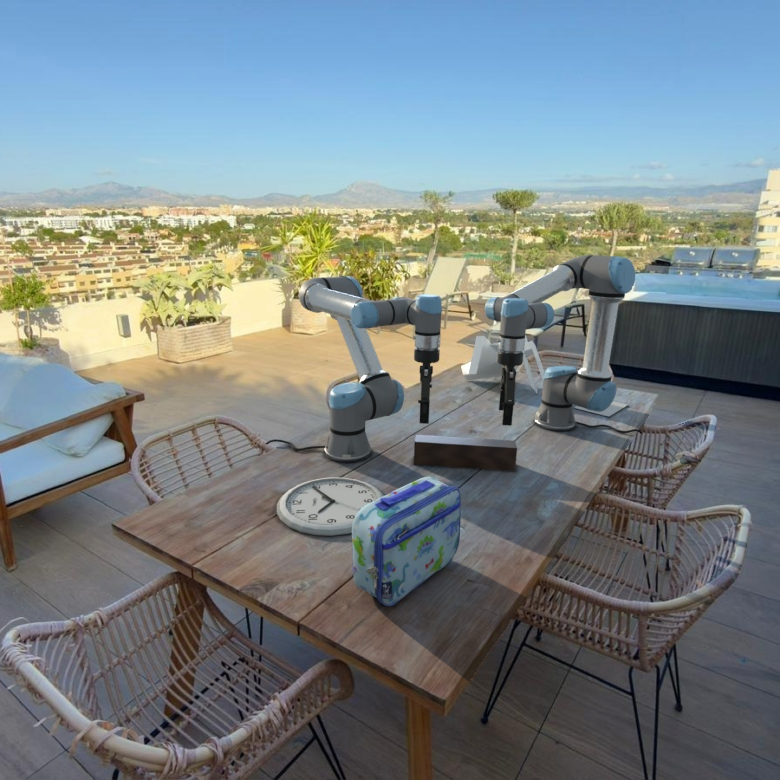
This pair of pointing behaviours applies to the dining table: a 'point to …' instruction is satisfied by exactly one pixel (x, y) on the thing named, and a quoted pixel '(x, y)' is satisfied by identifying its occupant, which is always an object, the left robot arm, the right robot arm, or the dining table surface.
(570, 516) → the dining table surface
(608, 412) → the invitation card
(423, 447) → the walnut beam
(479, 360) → the white plastic object
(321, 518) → the wall clock
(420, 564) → the lunch box
